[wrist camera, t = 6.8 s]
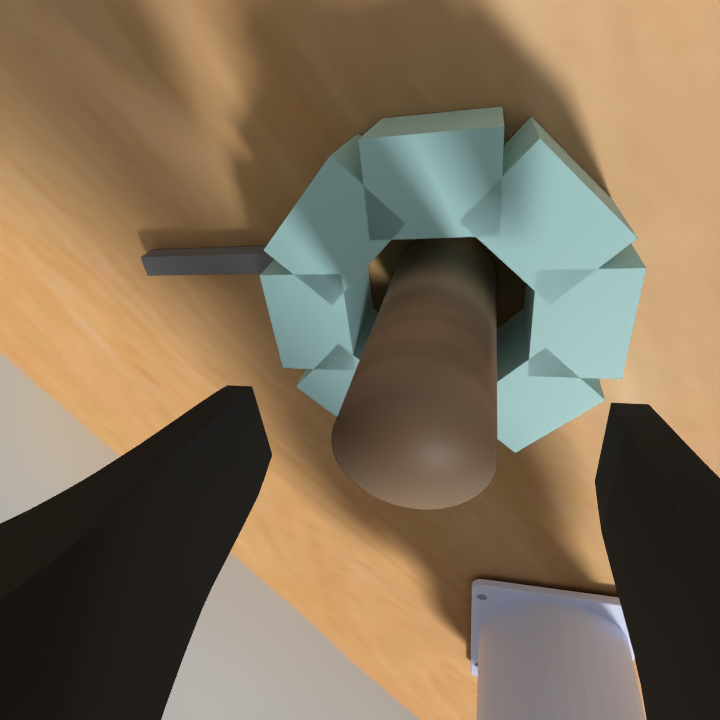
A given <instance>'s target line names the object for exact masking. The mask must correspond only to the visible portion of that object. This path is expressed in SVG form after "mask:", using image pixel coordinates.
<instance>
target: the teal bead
mask: <svg viewBox="0 0 720 720" xmlns="http://www.w3.org/2000/svg"><path fill="white" fill-rule="evenodd" d="M454 237H476V238H478V239H479V240H480V241H481V242H482V243H483V244H484V245H485V246H486V247H487V248H488V249H490V250H491V251H492V252H493V253H494V254H495V255H496V256H497V257H498V258H499V259H500V260H502V261H503V262H504V263H505V264H506V265H507V266H508V267H509V268H510V269H511V270H512V271H514V272H515V273H516V274H517V275H518V276H519V277H520V278H521V279H522V280H523V281H524V282H526V283H525V296H524V308H523V309H521V310H520V311H519V312H518V313H516V314H515V315H514V316H513V317H511V318H510V319H509V320H508V321H506V322H505V323H504V324H503V325H501V326H500V327H499V328H498V329H497V439H498V440H500V441H501V442H502V443H503V444H505V445H506V446H507V447H508V448H510V449H511V450H512V451H513V452H514V453H516V452H518V451H520V450H521V449H523V448H525V447H526V446H528V445H530V444H531V443H533V442H535V441H537V440H538V439H540V438H542V437H543V436H545V435H547V434H548V433H550V432H552V431H554V430H555V429H557V428H559V427H560V426H562V425H564V424H565V423H567V422H569V421H571V420H572V419H574V418H576V417H577V416H579V415H581V414H582V413H584V412H586V411H588V410H589V409H591V408H593V407H594V406H596V405H598V404H599V403H601V402H603V401H605V398H604V395H603V391H602V388H601V385H600V381H599V379H622V376H623V371H624V367H625V362H626V358H627V353H628V349H629V344H630V340H631V335H632V330H633V326H634V321H635V317H636V312H637V308H638V303H639V299H640V294H641V289H642V285H643V280H644V276H645V271H646V267H645V265H644V264H643V262H642V260H641V259H640V257H639V256H638V254H637V252H636V251H635V249H634V247H633V246H632V244H631V243H632V242H633V241H635V240H636V239H637V236H636V235H635V233H634V232H633V230H632V229H631V227H630V226H629V224H628V223H627V221H626V219H625V218H624V216H623V215H622V213H621V212H620V210H619V209H618V207H617V206H616V204H615V203H614V201H613V200H612V199H611V198H610V197H609V196H608V194H607V193H606V192H605V191H604V190H603V189H602V188H601V187H600V186H599V185H598V184H597V183H596V182H595V181H594V180H593V179H592V178H591V177H590V176H589V175H588V174H587V173H586V172H585V171H584V170H583V169H582V168H581V167H580V166H579V165H578V164H577V163H576V162H575V161H574V160H573V159H572V158H571V157H570V156H569V155H568V154H567V153H566V151H565V150H564V149H563V148H562V147H561V146H560V145H559V144H558V143H557V142H556V141H555V140H554V139H553V138H552V137H551V136H550V135H549V134H548V133H547V132H546V131H545V130H544V129H543V128H542V127H541V126H540V125H539V124H538V123H537V122H536V121H535V120H534V119H533V118H532V117H530V118H529V119H528V120H527V121H526V122H525V123H524V125H523V126H522V127H521V128H520V129H519V130H518V131H517V132H516V133H515V134H514V135H513V136H512V137H511V138H510V139H509V140H508V142H507V143H506V144H505V145H504V117H503V107H502V106H500V107H490V108H480V109H470V110H460V111H450V112H440V113H430V114H420V115H410V116H400V117H390V118H382V119H381V120H380V121H379V122H378V123H377V124H375V125H374V126H373V127H372V128H371V129H370V130H368V131H367V132H366V133H365V134H364V135H363V136H362V135H360V134H359V133H357V134H356V135H355V136H354V137H352V138H351V139H350V140H349V141H347V142H346V143H345V144H344V145H343V146H341V147H340V148H339V149H338V150H336V151H335V152H334V153H333V154H332V155H330V156H329V158H328V159H327V161H326V162H325V163H324V165H323V166H322V168H321V169H320V171H319V172H318V173H317V175H316V176H315V178H314V179H313V181H312V182H311V183H310V185H309V186H308V188H307V189H306V190H305V192H304V193H303V195H302V196H301V198H300V199H299V200H298V202H297V203H296V205H295V206H294V208H293V209H292V210H291V212H290V213H289V215H288V216H287V218H286V219H285V220H284V222H283V223H282V225H281V226H280V227H279V229H278V230H277V232H276V233H275V235H274V236H273V237H272V239H271V240H270V242H269V243H268V245H267V246H266V247H265V249H264V251H265V252H266V253H267V254H269V255H270V256H271V257H272V258H274V260H273V261H272V262H271V263H270V264H269V266H268V267H267V268H266V269H265V270H264V271H263V272H262V273H261V274H260V279H261V283H262V287H263V291H264V295H265V299H266V303H267V307H268V311H269V315H270V319H271V323H272V327H273V331H274V335H275V339H276V343H277V347H278V351H279V355H280V359H281V363H282V367H283V368H294V369H305V371H304V373H303V375H302V377H301V379H300V380H299V382H298V384H297V386H296V387H297V388H298V389H300V390H301V391H302V392H304V393H305V394H306V395H308V396H309V397H310V398H312V399H313V400H314V401H316V402H317V403H318V404H320V405H321V406H322V407H324V408H325V409H326V410H328V411H329V412H330V413H332V414H333V415H334V416H336V417H337V416H338V414H339V411H340V409H341V406H342V404H343V401H344V398H345V396H346V393H347V391H348V388H349V386H350V383H351V381H352V378H353V376H354V373H355V371H356V368H357V366H358V363H359V361H360V358H361V355H362V353H363V350H364V348H365V345H366V343H367V340H368V338H369V335H370V333H371V330H372V328H373V325H374V323H375V320H376V318H377V315H378V313H379V312H377V311H376V310H375V309H374V308H373V303H372V294H371V286H370V277H369V269H368V265H369V264H370V263H371V262H372V261H373V260H374V259H375V257H376V256H377V255H378V254H379V253H380V252H381V251H382V250H383V249H384V247H385V246H386V245H387V244H388V243H389V242H390V241H391V240H399V239H426V238H454Z"/></svg>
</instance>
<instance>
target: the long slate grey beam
mask: <svg viewBox="0 0 720 720" xmlns="http://www.w3.org/2000/svg"><path fill="white" fill-rule="evenodd" d="M265 247H266V246H245V247H216V248H188V249H160V250H151V251H149V252H148V253H146V254H145V255H143V256H142V257H141V259H142V262H143V264H144V267H145V270H146V272H147V275H148V276H154V275H205V274H255V273H262V272H263V271H264V270H265V269H266V268H267V267H268V266H269V264H270V263H271V262H272V261H273V260H274V258H272V257H271V256H270V255H269V254H267V253H266V252H265V251H264V249H265Z"/></svg>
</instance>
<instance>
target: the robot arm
mask: <svg viewBox="0 0 720 720" xmlns="http://www.w3.org/2000/svg"><path fill="white" fill-rule="evenodd" d="M271 457H272V453H271V449H270V446H269V442H268V439H267V436H266V432H265V429H264V425H263V422H262V419H261V415H260V412H259V409H258V405H257V402H256V398H255V395H254V392H253V388H252V387H250V386H228V385H227V386H226V387H224V388H222V389H221V390H219V391H217V392H216V393H214V394H213V395H211V396H210V397H208V398H206V399H205V400H204V401H202V402H201V403H199V404H198V405H196V406H195V407H193V408H192V409H190V410H189V411H188V412H186V413H185V414H183V415H182V416H180V417H179V418H178V419H176V420H175V421H173V422H172V423H170V424H169V425H167V426H166V427H164V428H163V429H162V430H160V431H159V432H157V433H156V434H154V435H153V436H151V437H150V438H148V439H147V440H146V441H144V442H143V443H141V444H140V445H138V446H136V447H135V448H133V449H132V450H130V451H129V452H127V453H126V454H124V455H122V456H121V457H119V458H118V459H116V460H115V461H113V462H112V463H110V464H108V465H107V466H105V467H104V468H102V469H101V470H99V471H97V472H96V473H94V474H93V475H91V476H89V477H88V478H86V479H84V480H83V481H81V482H79V483H77V484H76V485H74V486H72V487H70V488H69V489H67V490H65V491H63V492H61V493H60V494H58V495H56V496H54V497H52V498H51V499H49V500H47V501H45V502H43V503H41V504H39V505H38V506H36V507H34V508H32V509H30V510H28V511H26V512H24V513H22V514H20V515H18V516H16V517H13V518H11V519H10V520H7V521H5V522H3V523H1V524H0V720H161V718H162V715H163V712H164V709H165V706H166V703H167V701H168V698H169V695H170V692H171V689H172V687H173V684H174V681H175V678H176V676H177V673H178V670H179V667H180V664H181V662H182V659H183V656H184V654H185V651H186V649H187V646H188V643H189V641H190V638H191V636H192V633H193V630H194V628H195V626H196V623H197V620H198V618H199V615H200V613H201V610H202V608H203V606H204V603H205V601H206V599H207V597H208V595H209V593H210V590H211V588H212V586H213V584H214V582H215V580H216V578H217V576H218V574H219V572H220V570H221V568H222V566H223V565H224V563H225V561H226V559H227V557H228V555H229V553H230V551H231V549H232V547H233V545H234V543H235V541H236V539H237V537H238V535H239V533H240V531H241V529H242V527H243V525H244V523H245V521H246V519H247V517H248V515H249V513H250V511H251V509H252V507H253V505H254V503H255V501H256V499H257V497H258V494H259V492H260V489H261V486H262V483H263V481H264V478H265V475H266V472H267V469H268V466H269V463H270V460H271ZM595 486H596V494H597V502H598V510H599V517H600V524H601V531H602V535H603V539H604V543H605V547H606V551H607V555H608V559H609V563H610V566H611V570H612V574H613V578H614V581H615V585H616V589H617V593H618V596H619V597H612V596H604V595H597V594H590V593H582V592H575V591H567V590H560V589H553V588H545V587H538V586H530V585H523V584H516V583H508V582H501V581H493V580H486V579H477V580H474V581H473V582H472V607H471V673H472V674H473V675H474V676H477V677H478V685H477V720H645V715H644V711H643V706H642V701H641V697H640V692H639V687H638V683H637V678H636V674H635V669H634V664H633V662H634V659H635V661H636V665H637V670H638V674H639V679H640V683H641V688H642V694H643V700H644V706H645V712H646V718H647V720H720V478H719V477H718V476H717V475H716V474H715V473H714V472H713V471H712V470H711V469H710V468H709V467H708V466H707V465H706V464H705V463H704V462H703V461H702V460H701V459H700V458H699V457H698V456H697V455H696V454H695V452H694V451H693V450H692V449H691V448H690V447H689V446H688V445H687V444H686V443H685V442H684V441H683V440H682V439H681V438H680V437H679V436H678V435H677V434H676V433H675V432H674V430H673V429H672V428H671V427H670V426H669V425H668V424H667V423H666V422H665V421H664V420H663V419H662V418H661V417H660V416H659V415H658V414H657V413H656V412H655V411H654V410H653V409H652V407H651V406H650V405H648V404H626V403H611V407H610V411H609V416H608V421H607V426H606V431H605V435H604V440H603V445H602V450H601V454H600V459H599V464H598V469H597V474H596V478H595Z"/></svg>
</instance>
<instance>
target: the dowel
mask: <svg viewBox="0 0 720 720" xmlns="http://www.w3.org/2000/svg"><path fill="white" fill-rule="evenodd" d="M332 448H333V452H334V455H335V458H336V460H337V462H338V464H339V466H340V467H341V469H342V470H343V472H344V473H345V474H346V475H347V476H348V478H349V479H350V480H351V481H353V482H354V483H355V484H356V485H357V486H358V487H360V488H361V489H362V490H364V491H365V492H367V493H369V494H370V495H372V496H374V497H376V498H378V499H380V500H383V501H385V502H388V503H391V504H394V505H397V506H401V507H406V508H412V509H425V510H431V509H442V508H449V507H453V506H456V505H459V504H462V503H465V502H467V501H469V500H471V499H473V498H474V497H476V496H477V495H478V494H480V493H481V492H482V491H483V490H484V489H485V488H486V487H487V486H488V485H489V483H490V482H491V480H492V478H493V476H494V474H495V471H496V468H497V460H498V439H497V328H496V269H495V265H494V262H493V259H492V257H491V255H490V254H489V252H488V251H487V249H486V248H485V247H484V246H483V245H482V244H481V243H480V242H479V241H477V240H476V239H474V238H473V237H454V238H426V239H416V240H415V241H413V242H412V243H411V244H410V245H409V246H408V247H407V248H406V249H405V251H404V252H403V254H402V255H401V257H400V259H399V262H398V265H397V267H396V270H395V272H394V275H393V277H392V280H391V282H390V285H389V287H388V290H387V292H386V295H385V297H384V300H383V302H382V305H381V307H380V310H379V313H378V315H377V318H376V320H375V323H374V325H373V328H372V330H371V333H370V335H369V338H368V340H367V343H366V345H365V348H364V350H363V353H362V355H361V358H360V361H359V363H358V366H357V368H356V371H355V373H354V376H353V378H352V381H351V383H350V386H349V388H348V391H347V393H346V396H345V398H344V401H343V404H342V406H341V409H340V411H339V414H338V416H337V419H336V421H335V424H334V426H333V430H332Z"/></svg>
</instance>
